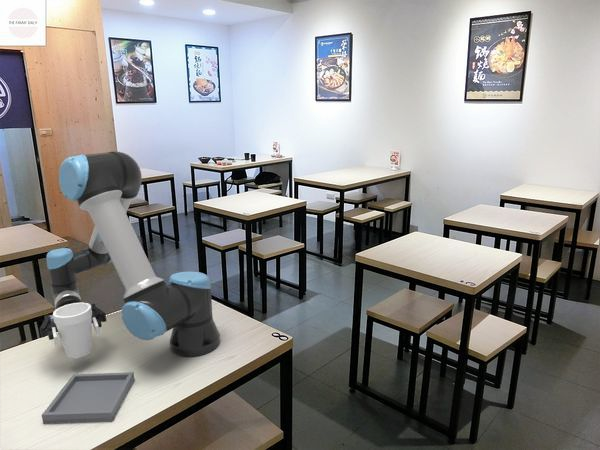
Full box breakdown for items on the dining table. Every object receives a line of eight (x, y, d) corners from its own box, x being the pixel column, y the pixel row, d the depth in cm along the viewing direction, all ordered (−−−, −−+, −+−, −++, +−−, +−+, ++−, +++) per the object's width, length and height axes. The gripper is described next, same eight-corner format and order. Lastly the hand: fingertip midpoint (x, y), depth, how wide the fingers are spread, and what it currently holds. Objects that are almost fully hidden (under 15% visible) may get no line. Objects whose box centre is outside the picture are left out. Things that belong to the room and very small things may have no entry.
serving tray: (134, 380, 118) (133, 372, 117) (112, 421, 102) (111, 412, 102) (74, 382, 117) (73, 374, 117) (43, 424, 102) (41, 415, 101)
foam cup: (103, 350, 123) (96, 308, 120) (69, 365, 116) (61, 321, 113) (88, 340, 129) (82, 299, 126) (55, 352, 123) (47, 310, 119)
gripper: (108, 308, 142) (122, 336, 124) (30, 327, 131) (32, 361, 113) (105, 287, 140) (118, 312, 122) (25, 304, 129) (27, 335, 111)
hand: (77, 336), depth 117 cm, fingers closed on foam cup, 9 cm apart
